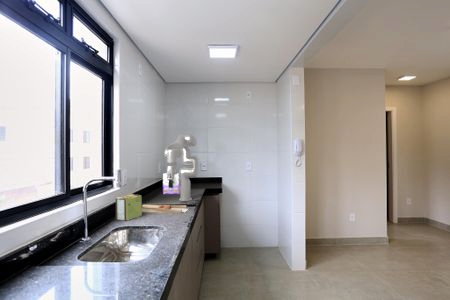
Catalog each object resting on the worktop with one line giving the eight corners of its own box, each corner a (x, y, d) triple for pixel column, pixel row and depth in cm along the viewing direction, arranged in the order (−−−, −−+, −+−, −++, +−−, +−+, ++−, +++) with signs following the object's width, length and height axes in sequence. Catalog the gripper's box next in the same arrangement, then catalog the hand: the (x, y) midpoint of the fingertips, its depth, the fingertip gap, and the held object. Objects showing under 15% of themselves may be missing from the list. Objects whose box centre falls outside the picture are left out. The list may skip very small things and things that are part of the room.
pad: (171, 208, 213) (171, 208, 213) (188, 209, 211) (188, 208, 211) (166, 212, 202) (166, 211, 202) (185, 212, 201) (185, 212, 201)
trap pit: (162, 208, 214) (162, 204, 214) (170, 208, 213) (170, 205, 213) (157, 211, 203) (157, 208, 203) (165, 212, 202) (165, 208, 202)
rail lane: (143, 207, 218) (143, 204, 218) (186, 208, 214) (186, 205, 214) (134, 211, 203) (134, 208, 203) (181, 213, 199) (181, 209, 199)
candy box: (181, 192, 209) (181, 172, 209) (179, 194, 204) (179, 173, 203) (165, 192, 211) (165, 172, 211) (162, 194, 205) (162, 173, 205)
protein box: (142, 215, 192) (141, 195, 192) (126, 221, 178) (125, 199, 178) (131, 214, 197) (131, 194, 197) (115, 219, 183) (115, 197, 183)
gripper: (171, 163, 216) (171, 185, 216) (163, 165, 199) (163, 188, 199) (179, 163, 215) (179, 185, 215) (172, 165, 198) (172, 188, 198)
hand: (172, 186), depth 207 cm, fingers closed on candy box, 5 cm apart
